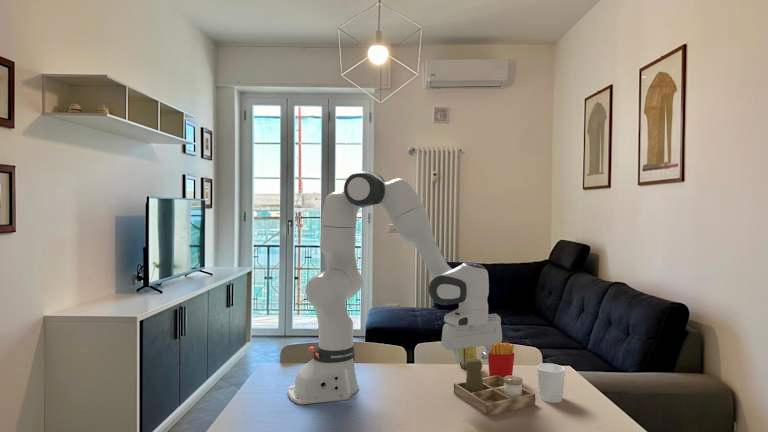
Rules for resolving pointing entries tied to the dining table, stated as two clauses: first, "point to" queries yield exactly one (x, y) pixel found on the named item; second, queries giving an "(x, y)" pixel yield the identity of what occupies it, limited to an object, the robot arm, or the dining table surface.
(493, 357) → the french fries
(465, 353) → the sauce bottle
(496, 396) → the oak caddy
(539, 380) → the white cup
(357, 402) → the dining table surface
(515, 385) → the cream ceramic jar
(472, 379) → the olive pepper mill
